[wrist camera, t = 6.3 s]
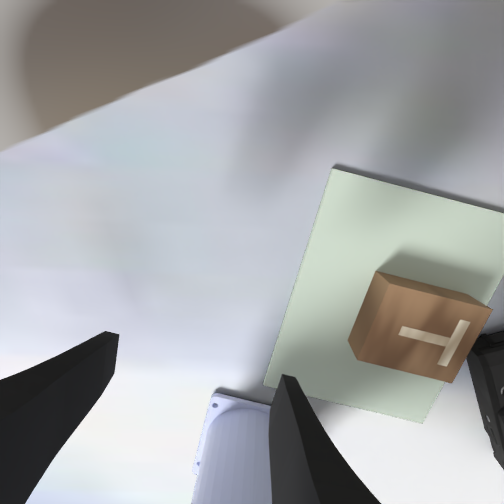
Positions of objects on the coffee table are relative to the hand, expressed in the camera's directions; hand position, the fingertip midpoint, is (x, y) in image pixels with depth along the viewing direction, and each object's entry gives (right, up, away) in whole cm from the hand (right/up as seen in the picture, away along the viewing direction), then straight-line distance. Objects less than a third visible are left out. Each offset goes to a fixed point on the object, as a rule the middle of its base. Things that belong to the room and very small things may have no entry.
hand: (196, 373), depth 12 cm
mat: (+12, +1, +10) cm, 16 cm away
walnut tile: (+11, +1, +8) cm, 13 cm away
